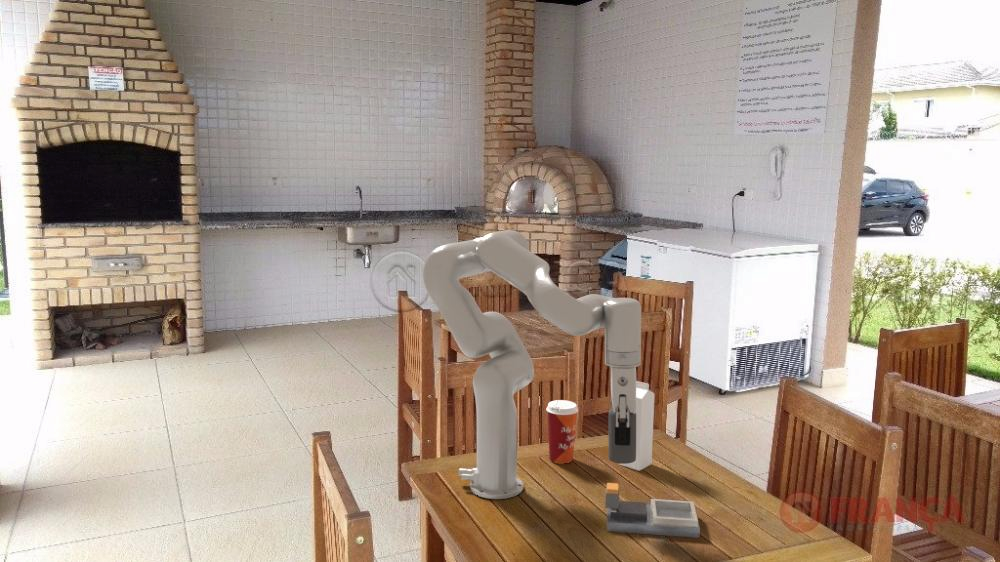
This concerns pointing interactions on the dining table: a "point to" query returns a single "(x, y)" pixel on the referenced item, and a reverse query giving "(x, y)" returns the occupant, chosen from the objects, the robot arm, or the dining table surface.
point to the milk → (643, 427)
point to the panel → (655, 518)
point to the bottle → (622, 452)
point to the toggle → (612, 496)
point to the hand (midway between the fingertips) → (622, 438)
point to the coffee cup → (561, 430)
